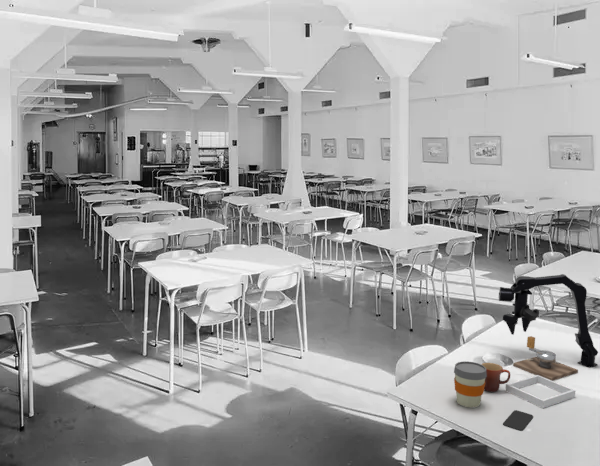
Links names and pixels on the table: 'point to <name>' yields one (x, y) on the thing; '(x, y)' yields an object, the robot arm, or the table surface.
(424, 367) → the table surface
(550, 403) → the tray frame
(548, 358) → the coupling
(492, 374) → the mug
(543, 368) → the base plate
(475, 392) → the reusable coffee cup
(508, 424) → the phone
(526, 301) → the robot arm
